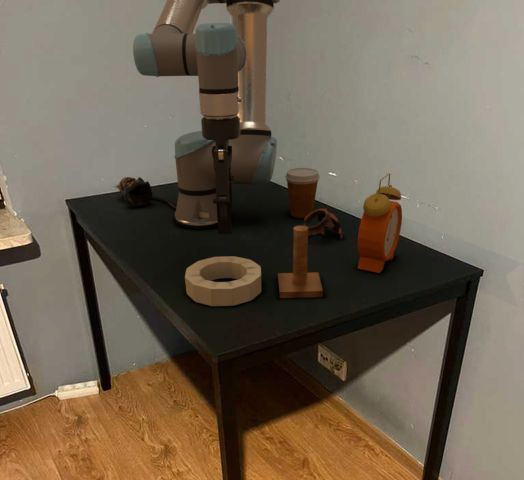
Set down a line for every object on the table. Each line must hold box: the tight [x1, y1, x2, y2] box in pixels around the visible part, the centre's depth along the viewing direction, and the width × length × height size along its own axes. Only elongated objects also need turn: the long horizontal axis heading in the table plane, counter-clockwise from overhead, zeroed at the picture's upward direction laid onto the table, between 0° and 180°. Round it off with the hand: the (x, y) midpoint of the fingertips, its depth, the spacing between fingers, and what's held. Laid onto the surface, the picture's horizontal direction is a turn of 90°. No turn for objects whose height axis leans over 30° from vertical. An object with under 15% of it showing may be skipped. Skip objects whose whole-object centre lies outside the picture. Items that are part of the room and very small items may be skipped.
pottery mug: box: [302, 207, 343, 240], centre depth 142 cm, size 12×10×8 cm
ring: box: [184, 255, 262, 307], centre depth 118 cm, size 16×16×4 cm
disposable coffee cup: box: [284, 167, 321, 219], centre depth 154 cm, size 10×10×12 cm
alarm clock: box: [357, 173, 403, 274], centre depth 123 cm, size 13×6×20 cm, turn 151°
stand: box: [277, 225, 324, 299], centre depth 114 cm, size 9×9×14 cm
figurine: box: [117, 176, 153, 209], centre depth 167 cm, size 9×8×15 cm
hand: (226, 222), depth 117 cm, fingers open, 13 cm apart
